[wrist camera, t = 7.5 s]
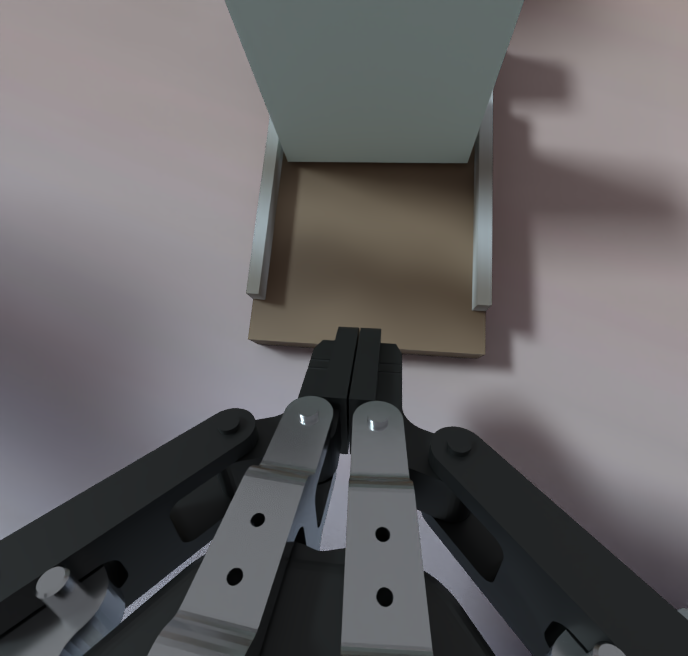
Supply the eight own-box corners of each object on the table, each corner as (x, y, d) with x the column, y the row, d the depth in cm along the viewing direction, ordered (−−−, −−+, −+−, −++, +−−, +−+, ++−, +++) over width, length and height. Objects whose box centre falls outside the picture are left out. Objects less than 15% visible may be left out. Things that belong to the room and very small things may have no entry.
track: (477, 358, 18) (506, 344, 14) (258, 344, 20) (221, 326, 15) (481, 48, 22) (506, -43, 17) (294, 52, 23) (273, -31, 19)
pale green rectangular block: (467, 163, 18) (536, -35, 10) (287, 161, 19) (217, -19, 11) (468, 109, 19) (534, -119, 11) (293, 111, 20) (231, -97, 12)
